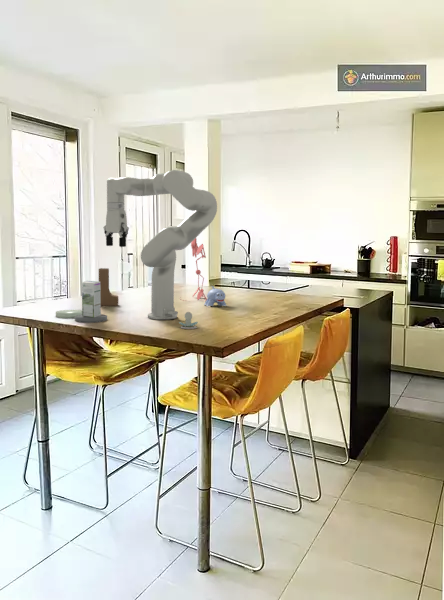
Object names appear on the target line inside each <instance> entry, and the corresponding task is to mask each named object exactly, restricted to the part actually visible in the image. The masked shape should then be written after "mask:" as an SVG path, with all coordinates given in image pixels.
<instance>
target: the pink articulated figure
mask: <svg viewBox="0 0 444 600" xmlns="http://www.w3.org/2000/svg"><path fill="white" fill-rule="evenodd" d="M197 242H198V241H197V237H196V238H195V239H194V240H193V241H192V242H191V243H190V247H191V250H192V251H191V253H192V254H191V255H192V257H194V258H197V256H198V255H200V254H201V256H200V257H199V258H197V259H196V260H195V265H196V270H195V274H196V275H197V276H198V278H197V279H198V280H197V290H195V292H194V293H193V295H192V298H194V296H196V294H197V298H196V299H197V301H199V300H200V299H201V298H203V297H204V299H205V301H206V300H207V299H208V298H207V297H206V295H205V293H204V289H203V285H204V279H205V277H203V275H201V273H202V272H201V270H200V269H199V268H198V261H199V260H200V259H206V258H207V257H206V251H205V247H204V244H203V243H201V244H200V245H199V246H198V243H197ZM200 277H201V278H202V283H201V286H199V285H200ZM179 300H181V301H183V302H184V301H185V302H186V300H184V299H181V298H179Z"/></svg>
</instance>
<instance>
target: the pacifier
mask: <svg viewBox="0 0 444 600" xmlns="http://www.w3.org/2000/svg"><path fill="white" fill-rule="evenodd" d="M184 318H185V322H181V321H178V324H180V325H181V326H180V327H179V328H180V329H183V330H194V329H195V330H196V329H197V326H196V325H197V324H198V321H194V322H192V319H193V314H192V313H191V312H190V311H187V312H185V313H184Z"/></svg>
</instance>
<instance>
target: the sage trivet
mask: <svg viewBox="0 0 444 600" xmlns="http://www.w3.org/2000/svg"><path fill="white" fill-rule="evenodd" d="M81 314H82V309H81V310H80V309H62V310H56V311H55V317H56V318H61V319H75V316H77V315H81Z"/></svg>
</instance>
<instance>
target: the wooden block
mask: <svg viewBox="0 0 444 600" xmlns="http://www.w3.org/2000/svg"><path fill="white" fill-rule="evenodd" d="M98 282H100V288H101V307H118V306H119V296H118V295H117V294H113V293H111V291H110V269H109V268H108V267H107V268H106V267H104V268H103V267H100V268H98Z"/></svg>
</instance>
